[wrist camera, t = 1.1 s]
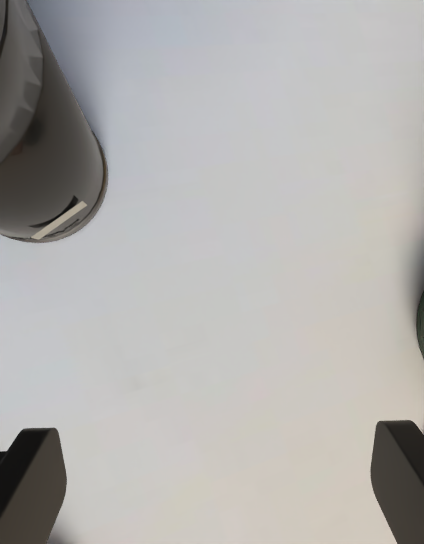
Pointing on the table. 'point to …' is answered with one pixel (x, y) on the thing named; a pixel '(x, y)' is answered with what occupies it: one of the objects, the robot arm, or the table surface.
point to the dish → (421, 324)
